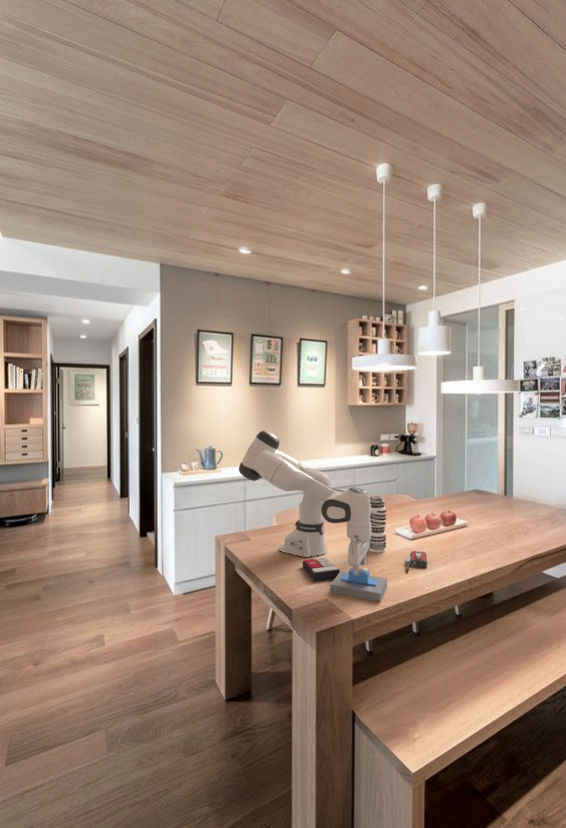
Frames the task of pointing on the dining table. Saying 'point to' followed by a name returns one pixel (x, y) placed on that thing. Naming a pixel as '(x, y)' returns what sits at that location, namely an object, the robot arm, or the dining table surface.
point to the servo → (359, 577)
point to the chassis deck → (359, 588)
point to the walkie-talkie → (416, 560)
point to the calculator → (320, 569)
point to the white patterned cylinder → (377, 524)
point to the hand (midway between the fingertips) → (359, 569)
